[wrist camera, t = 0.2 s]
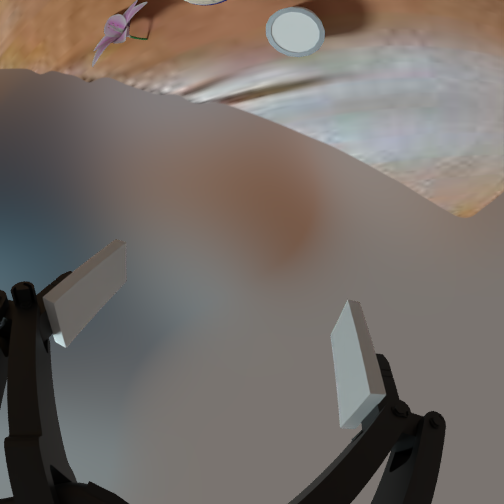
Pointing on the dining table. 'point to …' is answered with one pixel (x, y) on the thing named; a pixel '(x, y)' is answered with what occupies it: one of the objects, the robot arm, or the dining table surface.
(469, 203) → the dining table surface
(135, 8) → the lily
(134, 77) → the dining table surface
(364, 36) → the dining table surface
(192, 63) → the dining table surface
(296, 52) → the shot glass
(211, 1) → the teacup with lid
